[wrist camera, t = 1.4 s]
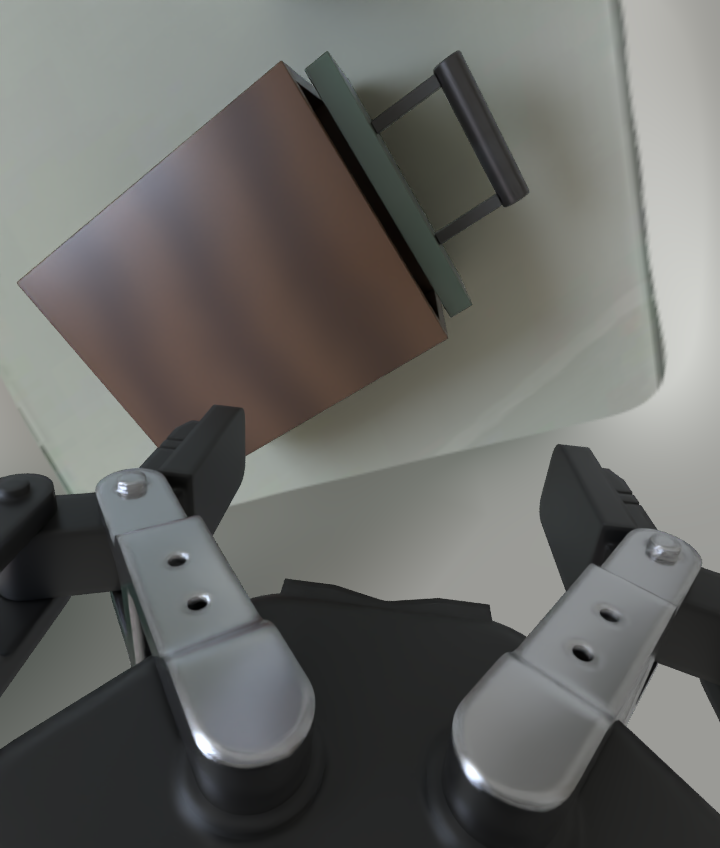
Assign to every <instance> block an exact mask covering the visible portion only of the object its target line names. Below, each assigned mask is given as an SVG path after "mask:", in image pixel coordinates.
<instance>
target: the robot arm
mask: <svg viewBox="0 0 720 848" xmlns="http://www.w3.org/2000/svg"><path fill="white" fill-rule="evenodd" d="M244 470H245V413H244V409H243V408H241V407H232V406H223V405H215V404H214V405H213V406H212V407H211V408H210V409H209V410H208V412H207V413H206V414H205V415H204V416H203V417H202V419H201V420H200V421H195V420H191V421H189V422H187V423H185V424H183V425H181V426H179V427H176V428H175V429H174V430H173V431H172V433H171V434H170V435H169V436H168V437H167V440H164V441H163V442H162V443H161V445H160V447H159V448H157V449H156V450H155V451H154V452H153V453H152V454H151V455H150V456H149V458H148V459H147V460H146V461H145V462H144V463H143V464H142V465H141V466H140V467H139V468H133V469H125V470H121V471H117V472H114V473H112V474H110V475H108V476H106V477H104V478H103V479H102V480H100V481H99V483H98V484H97V486H96V489H95V491H96V492H94V493H85V494H70V495H55V490H54V485H53V482H52V481H51V480H50V479H49V478H48V477H46V476H43V475H39V474H28V473H27V474H15V475H9V476H6V477H1V478H0V697H1V696H2V694H3V693H4V691H5V690H6V689H7V687H8V686H9V684H10V683H11V682H12V680H13V679H14V677H15V676H16V674H17V673H18V671H19V670H20V669H21V667H22V666H23V665H24V663H25V662H26V660H27V659H28V657H29V656H30V655H31V653H32V652H33V650H34V649H35V648H36V646H37V645H38V643H39V642H40V641H41V639H42V638H43V636H44V635H45V633H46V632H47V630H48V629H49V628H50V626H51V625H52V623H53V622H54V620H55V619H56V618H57V617H58V615H59V614H60V612H61V611H62V609H63V608H64V607H65V605H66V604H67V602H68V601H69V599H70V597H71V596H73V595H82V594H90V593H100V592H109V591H110V594H111V599H112V603H113V606H114V609H115V613H116V616H117V619H118V623H119V626H120V629H121V633H122V636H123V639H124V642H125V646H126V649H127V653H128V656H129V660H130V665H131V668H130V669H128V670H126V671H125V672H123V673H121V674H120V675H118V676H117V677H115V678H113V679H112V680H110V681H108V682H107V683H105V684H104V685H102V686H100V687H99V688H98V689H96V690H94V691H92V692H91V693H89V694H87V695H86V696H84V697H83V698H81V699H79V700H78V701H76V702H74V703H73V704H71V705H70V706H68V707H66V708H65V709H63V710H62V711H60V712H58V713H57V714H55V715H53V716H52V717H50V718H49V719H47V720H45V721H44V722H42V723H40V724H39V725H37V726H36V727H34V728H33V729H31V730H29V731H28V732H26V733H24V734H23V735H21V736H20V737H18V738H17V739H15V740H13V741H12V742H10V743H9V744H7V745H6V746H4V747H3V748H2V749H0V848H720V814H719V813H718V812H717V811H716V810H715V809H714V808H712V807H711V806H710V805H709V804H708V803H707V802H706V801H705V800H704V799H703V798H702V797H701V796H699V794H698V793H696V791H694V790H693V789H692V788H691V787H690V786H689V785H688V784H687V783H686V782H685V781H684V780H683V779H682V778H681V777H679V776H678V775H677V774H676V773H675V772H674V771H673V770H672V769H671V768H670V767H669V766H668V765H667V764H666V763H665V762H663V761H662V760H661V759H660V758H659V757H658V756H657V755H656V754H655V753H654V752H653V751H652V750H651V749H650V748H649V747H648V746H646V745H645V744H644V743H643V742H642V741H641V740H640V739H639V738H638V737H637V736H636V735H635V734H633V732H632V731H630V730H629V729H628V728H627V727H626V726H627V724H628V722H629V720H630V718H631V716H632V714H633V712H634V711H635V708H636V706H637V705H638V703H639V701H640V699H641V697H642V695H643V693H644V691H645V689H646V687H647V685H648V684H649V682H650V680H651V678H652V676H653V674H654V672H655V670H656V668H657V665H658V663H660V664H662V665H665V666H668V667H671V668H673V669H676V670H679V671H681V672H684V673H687V674H690V675H692V676H695V677H698V678H700V682H701V684H702V686H703V688H704V690H705V692H706V695H707V697H708V699H709V701H710V703H711V705H712V707H713V709H714V711H715V713H716V715H717V717H718V719H719V721H720V573H717V572H713V571H710V570H708V569H704V568H702V567H701V566H702V559H701V557H700V555H699V554H698V552H697V551H696V550H695V549H694V548H693V547H692V546H690V545H689V544H688V543H686V542H685V541H683V540H681V539H680V538H678V537H676V536H673V535H671V534H668V533H666V532H662V531H659V530H657V528H656V527H655V525H654V524H653V522H652V521H651V519H650V518H649V516H648V515H647V514H646V512H645V511H644V509H643V508H642V506H641V505H639V502H638V500H637V499H636V498H635V496H634V495H632V491H631V490H630V488H629V487H628V485H627V484H626V482H625V481H624V480H623V479H622V478H620V477H619V476H617V475H616V474H615V473H614V472H612V471H611V470H609V469H606V468H602V467H601V466H600V464H599V462H598V461H597V459H596V458H595V456H594V455H593V453H592V451H591V450H590V449H589V448H588V447H578V446H570V445H561V444H558V445H556V447H555V448H554V451H553V454H552V457H551V461H550V465H549V469H548V472H547V476H546V480H545V484H544V487H543V491H542V495H541V500H540V520H541V523H542V526H543V529H544V532H545V534H546V537H547V540H548V543H549V546H550V548H551V551H552V554H553V557H554V559H555V562H556V565H557V568H558V570H559V573H560V576H561V579H562V582H563V584H564V587H565V590H566V592H565V593H564V595H563V596H562V597H561V598H560V599H559V600H558V602H557V603H556V604H555V605H554V606H553V607H552V609H551V610H550V611H549V612H548V613H547V614H546V616H545V617H544V618H543V619H542V620H541V621H540V622H539V624H538V625H537V626H536V627H535V628H534V629H533V631H532V632H531V633H530V634H529V635H528V636H527V637H526V636H524V635H523V634H521V633H519V632H517V631H515V630H514V629H511V628H510V627H507V626H505V625H502V624H500V623H497V622H495V621H492V617H491V612H490V605H488V604H481V603H472V602H465V601H457V600H449V599H441V598H433V599H417V600H401V601H383V600H379V599H377V598H373V597H370V596H367V595H364V594H361V593H358V592H355V591H352V590H349V589H346V588H343V587H339V586H336V585H331V584H323V583H315V582H308V581H300V580H292V579H285V580H284V584H283V587H282V590H281V593H280V594H270V595H264V596H259V597H255V598H251V599H250V598H249V597H248V595H247V593H246V591H245V590H244V588H243V586H242V585H241V583H240V582H239V580H238V578H237V576H236V575H235V573H234V571H233V570H232V568H231V566H230V565H229V563H228V561H227V560H226V558H225V556H224V554H223V553H222V551H221V549H220V548H219V546H218V544H217V543H216V541H215V539H214V538H213V534H214V532H215V530H216V529H217V527H218V525H219V523H220V521H221V519H222V518H223V516H224V514H225V512H226V510H227V509H228V507H229V505H230V503H231V501H232V499H233V498H234V496H235V494H236V492H237V490H238V489H239V487H240V485H241V482H242V480H243V476H244Z"/></svg>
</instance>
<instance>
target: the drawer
mask: <svg viewBox="0 0 720 848" xmlns="http://www.w3.org/2000/svg"><path fill="white" fill-rule="evenodd" d="M305 72H306V74H307V75H308V77H309V79H310V80H311V82H312V84H313V86H314V87H315V89H316V91H317V92H318V94H319V96H320V97H321V99H322V101H323V102H324V104H325V106H326V108H327V109H328V111H329V113H330V114H331V116H332V118H333V119H334V121H335V123H336V125H337V126H338V128H339V130H340V131H341V133H342V135H343V136H344V138H345V140H346V141H347V143H348V145H349V147H350V148H351V150H352V152H353V153H354V155H355V157H356V158H357V160H358V162H359V164H360V165H361V167H362V169H363V170H364V172H365V174H366V175H367V177H368V179H369V180H370V182H371V184H372V186H373V187H374V189H375V191H376V192H377V194H378V196H379V197H380V199H381V201H382V202H383V204H384V206H385V208H386V209H387V211H388V213H389V214H390V216H391V218H392V219H393V221H394V223H395V225H396V226H397V228H398V230H399V231H400V233H401V235H402V236H403V238H404V240H405V241H406V243H407V245H408V247H409V248H410V250H411V252H412V253H413V255H414V257H415V258H416V260H417V262H418V264H419V265H420V267H421V269H422V270H423V272H424V274H425V275H426V277H427V279H428V280H429V282H430V284H431V286H432V287H433V289H434V291H435V292H436V294H437V296H438V297H439V299H440V301H441V302H442V304H443V306H444V308H445V309H446V311H447V313H448V314H449V316H450V317H453V316H454V315H456V314H458V313H460V312H461V311H463V310H465V309H466V308H468V307H470V306H471V305H472V303H471V300H470V298H469V296H468V293H467V291H466V289H465V286H464V284H463V282H462V279H461V277H460V275H459V273H458V271H457V270H456V268H455V266H454V264H453V263H452V261H451V259H450V257H449V256H448V254H447V252H446V250H445V249H444V247H443V245H442V243H444V242H446V241H447V240H449V239H450V238H452V237H453V236H455V235H456V234H458V233H460V232H461V231H463V230H464V229H466V228H467V227H469V226H471V225H472V224H474V223H475V222H477V221H478V220H480V219H481V218H483V217H485V216H486V215H488V214H489V213H491V212H492V211H494V210H495V209H497V208H499V207H500V206H501V205H502V206H503V207H508V206H510V205H512V204H514V203H516V202H517V201H519V200H521V199H522V198H523V197H525V196H526V195H527V194H528V193H529V188H528V186H527V184H526V182H525V180H524V178H523V176H522V174H521V172H520V170H519V168H518V166H517V164H516V162H515V160H514V158H513V156H512V154H511V152H510V150H509V148H508V146H507V144H506V142H505V140H504V138H503V136H502V134H501V132H500V130H499V128H498V126H497V124H496V122H495V120H494V118H493V116H492V114H491V112H490V110H489V108H488V106H487V103H486V101H485V99H484V97H483V95H482V93H481V91H480V89H479V87H478V85H477V83H476V81H475V79H474V77H473V75H472V73H471V71H470V69H469V67H468V65H467V63H466V61H465V59H464V57H463V55H462V53H461V51H456V52H454V53H452V54H451V55H450V56H448V57H447V58H445V59H444V60H443V61H442V62H441V63H439V64H438V65H437V66H436V67H435V68H434V70H433V72H434V75H432V76H431V77H430V78H428V79H427V80H426V81H424V82H423V83H422V84H420V85H419V86H418V87H416V88H415V89H414V90H412V91H411V92H410V93H408V94H407V95H406V96H404V97H403V98H402V99H400V100H399V101H398V102H396V103H395V104H394V105H392V106H391V107H390V108H388V109H387V110H386V111H384V112H383V113H382V114H380V115H379V116H378V117H376V118H375V119H374V120H371V118H370V117H369V115H368V113H367V111H366V109H365V108H364V106H363V104H362V102H361V101H360V99H359V97H358V95H357V94H356V92H355V90H354V88H353V87H352V85H351V83H350V81H349V80H348V78H347V77H346V75H345V74H344V73H343V71H342V70H341V69H340V67H339V66H338V65H337V63H336V62H335V60H334V59H333V58H332V56H331V55H330V54H329V52H328V51H326V52H325V53H324V54H323V55H322V56H320V57H319V58H318V59H317V60H316V61H314V62H313V63H312V64H311V65H309V66H308V67H307V68H306V69H305ZM440 88H442V90H443V92H444V94H445V96H446V98H447V99H448V101H449V103H450V105H451V107H452V109H453V111H454V113H455V115H456V117H457V119H458V121H459V123H460V125H461V127H462V128H463V130H464V132H465V134H466V136H467V138H468V140H469V142H470V144H471V146H472V148H473V150H474V152H475V154H476V156H477V158H478V159H479V161H480V163H481V165H482V167H483V169H484V171H485V173H486V175H487V177H488V179H489V181H490V183H491V185H492V187H493V188H494V190H495V192H496V194H494V195H492V196H491V197H489V198H488V199H486V200H485V201H483V202H482V203H480V204H479V205H477V206H476V207H474V208H472V209H471V210H469V211H468V212H466V213H465V214H463V215H462V216H460V217H459V218H457V219H456V220H454V221H453V222H451V223H449V224H448V225H446V226H445V227H443V228H442V229H440V230H439V231H437V232H436V233H435V231H434V229H433V227H432V226H431V224H430V222H429V220H428V219H427V217H426V215H425V213H424V212H423V210H422V208H421V206H420V205H419V203H418V201H417V199H416V198H415V196H414V194H413V192H412V190H411V189H410V187H409V185H408V183H407V182H406V180H405V178H404V176H403V175H402V173H401V171H400V169H399V168H398V166H397V164H396V162H395V161H394V159H393V157H392V155H391V153H390V152H389V150H388V148H387V146H386V145H385V143H384V141H383V139H382V138H381V136H380V134H379V133H381V132H382V131H383V130H385V129H386V128H387V127H389V126H390V125H391V124H393V123H394V122H396V121H397V120H398V119H400V118H401V117H402V116H404V115H405V114H406V113H408V112H409V111H410V110H412V109H413V108H414V107H416V106H417V105H419V104H420V103H421V102H423V101H424V100H425V99H427V98H428V97H429V96H431V95H432V94H433V93H435V92H436V91H437V90H439V89H440Z"/></svg>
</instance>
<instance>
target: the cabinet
mask: <svg viewBox="0 0 720 848" xmlns="http://www.w3.org/2000/svg"><path fill="white" fill-rule="evenodd" d="M17 284H18V285H19V287H20V288H21V289H22V290H23V291H24V292H25V293H26V295H27V296H28V297H29V298H30V299H31V300H32V302H33V303H34V304H35V305H36V306H37V307H38V309H39V310H40V311H41V312H42V313H43V314H44V316H45V317H46V318H47V319H48V320H49V321H50V323H51V324H52V325H53V326H54V327H55V328H56V330H57V331H58V332H59V333H60V334H61V335H62V337H63V338H64V339H65V340H66V341H67V342H68V344H69V345H70V346H71V347H72V348H73V349H74V350H75V352H76V353H77V354H78V355H79V356H80V357H81V359H82V360H83V361H84V362H85V363H86V364H87V366H88V367H89V368H90V369H91V370H92V371H93V373H94V374H95V375H96V376H97V377H98V378H99V380H100V381H101V382H102V383H103V384H104V385H105V387H106V388H107V389H108V390H109V391H110V392H111V394H112V395H113V396H114V397H115V398H116V399H117V401H118V402H119V403H120V404H121V405H122V406H123V408H124V409H125V410H126V411H127V412H128V413H129V414H130V416H131V417H132V418H133V419H134V420H135V421H136V423H137V424H138V425H139V426H140V427H141V428H142V430H143V431H144V432H145V433H146V434H147V435H148V437H149V438H150V439H151V440H152V441H153V442H154V444H155V445H156V446H157V447H158V448H159V447H160V445H161V443H162V442H163V441H164V440H167V437H168V436H169V435H170V434H171V433H172V431H173V430H174V429H175V428H176V427H179V426H181V425H183V424H185V423H187V422H189V421H191V420H195V421H200V420H201V419H202V417H203V416H204V415H205V414H206V413H207V412H208V410H209V409H210V408H211V407H212V406H213V405H214V404H215V405H223V406H232V407H241V408H243V409H244V413H245V456H247V455H248V454H250V453H252V452H254V451H255V450H257V449H259V448H261V447H262V446H264V445H266V444H267V443H269V442H271V441H273V440H274V439H276V438H278V437H279V436H281V435H283V434H285V433H286V432H288V431H290V430H291V429H293V428H295V427H297V426H298V425H300V424H302V423H304V422H305V421H307V420H309V419H310V418H312V417H314V416H316V415H317V414H319V413H321V412H322V411H324V410H326V409H328V408H329V407H331V406H333V405H335V404H336V403H338V402H340V401H341V400H343V399H345V398H347V397H348V396H350V395H352V394H353V393H355V392H357V391H359V390H360V389H362V388H364V387H365V386H367V385H369V384H371V383H372V382H374V381H376V380H378V379H379V378H381V377H383V376H384V375H386V374H388V373H390V372H391V371H393V370H395V369H396V368H398V367H400V366H402V365H403V364H405V363H407V362H408V361H410V360H412V359H414V358H415V357H417V356H419V355H421V354H422V353H424V352H426V351H427V350H429V349H431V348H433V347H434V346H436V345H438V344H439V343H441V342H443V341H445V340H446V339H448V335H447V330H446V325H445V320H444V315H443V310H442V305H441V301H440V299H439V297H438V296H437V294H436V292H435V291H434V289H433V287H432V286H431V284H430V282H429V280H428V279H427V277H426V275H425V274H424V272H423V270H422V269H421V267H420V265H419V264H418V262H417V260H416V258H415V257H414V255H413V253H412V252H411V250H410V248H409V247H408V245H407V243H406V241H405V240H404V238H403V236H402V235H401V233H400V231H399V230H398V228H397V226H396V225H395V223H394V221H393V219H392V218H391V216H390V214H389V213H388V211H387V209H386V208H385V206H384V204H383V202H382V201H381V199H380V197H379V196H378V194H377V192H376V191H375V189H374V187H373V186H372V184H371V182H370V180H369V179H368V177H367V175H366V174H365V172H364V170H363V169H362V167H361V165H360V164H359V162H358V160H357V158H356V157H355V155H354V153H353V152H352V150H351V148H350V147H349V145H348V143H347V141H346V140H345V138H344V136H343V135H342V133H341V131H340V130H339V128H338V126H337V125H336V123H335V121H334V119H333V118H332V116H331V114H330V113H329V111H328V109H327V108H326V106H325V104H324V102H323V101H322V99H321V97H320V96H319V94H318V92H317V91H316V89H315V87H313V86H312V85H311V84H310V83H308V82H307V81H306V80H305V79H304V78H302V77H301V76H300V75H299V74H298V73H296V72H295V71H294V70H293V69H291V68H290V67H289V66H288V65H287V64H285V63H284V62H283V61H280V62H279V63H277V64H276V65H275V66H274V67H273V68H272V69H270V70H269V71H268V72H267V73H266V74H264V75H263V76H262V77H261V78H260V79H258V80H257V81H256V82H255V83H254V84H252V85H251V86H250V87H249V88H248V89H247V90H245V91H244V92H243V93H242V94H241V95H239V96H238V97H237V98H236V99H235V100H233V101H232V102H231V103H230V104H229V105H227V106H226V107H225V108H224V109H223V110H221V111H220V112H219V113H218V114H217V115H216V116H214V117H213V118H212V119H211V120H210V121H208V122H207V123H206V124H205V125H204V126H202V127H201V128H200V129H199V130H198V131H196V132H195V133H194V134H193V135H192V136H190V137H189V138H188V139H187V140H186V141H185V142H183V143H182V144H181V145H180V146H179V147H177V148H176V149H175V150H174V151H173V152H171V153H170V154H169V155H168V156H167V157H165V158H164V159H163V160H162V161H161V162H160V163H158V164H157V165H156V166H155V167H154V168H152V169H151V170H150V171H149V172H148V173H146V174H145V175H144V176H143V177H142V178H140V179H139V180H138V181H137V182H136V183H134V184H133V185H132V186H131V187H130V188H129V189H127V190H126V191H125V192H124V193H123V194H121V195H120V196H119V197H118V198H117V199H115V200H114V201H113V202H112V203H111V204H109V205H108V206H107V207H106V208H105V209H104V210H102V211H101V212H100V213H99V214H98V215H96V216H95V217H94V218H93V219H92V220H90V221H89V222H88V223H87V224H86V225H84V226H83V227H82V228H81V229H80V230H78V231H77V232H76V233H75V234H74V235H73V236H71V237H70V238H69V239H68V240H67V241H65V242H64V243H63V244H62V245H61V246H59V247H58V248H57V249H56V250H55V251H53V252H52V253H51V254H50V255H49V256H48V257H46V258H45V259H44V260H43V261H42V262H40V263H39V264H38V265H37V266H36V267H34V268H33V269H32V270H31V271H30V272H28V273H27V274H26V275H25V276H24V277H22V278H21V279H20V280H19V281H18V282H17Z"/></svg>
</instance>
